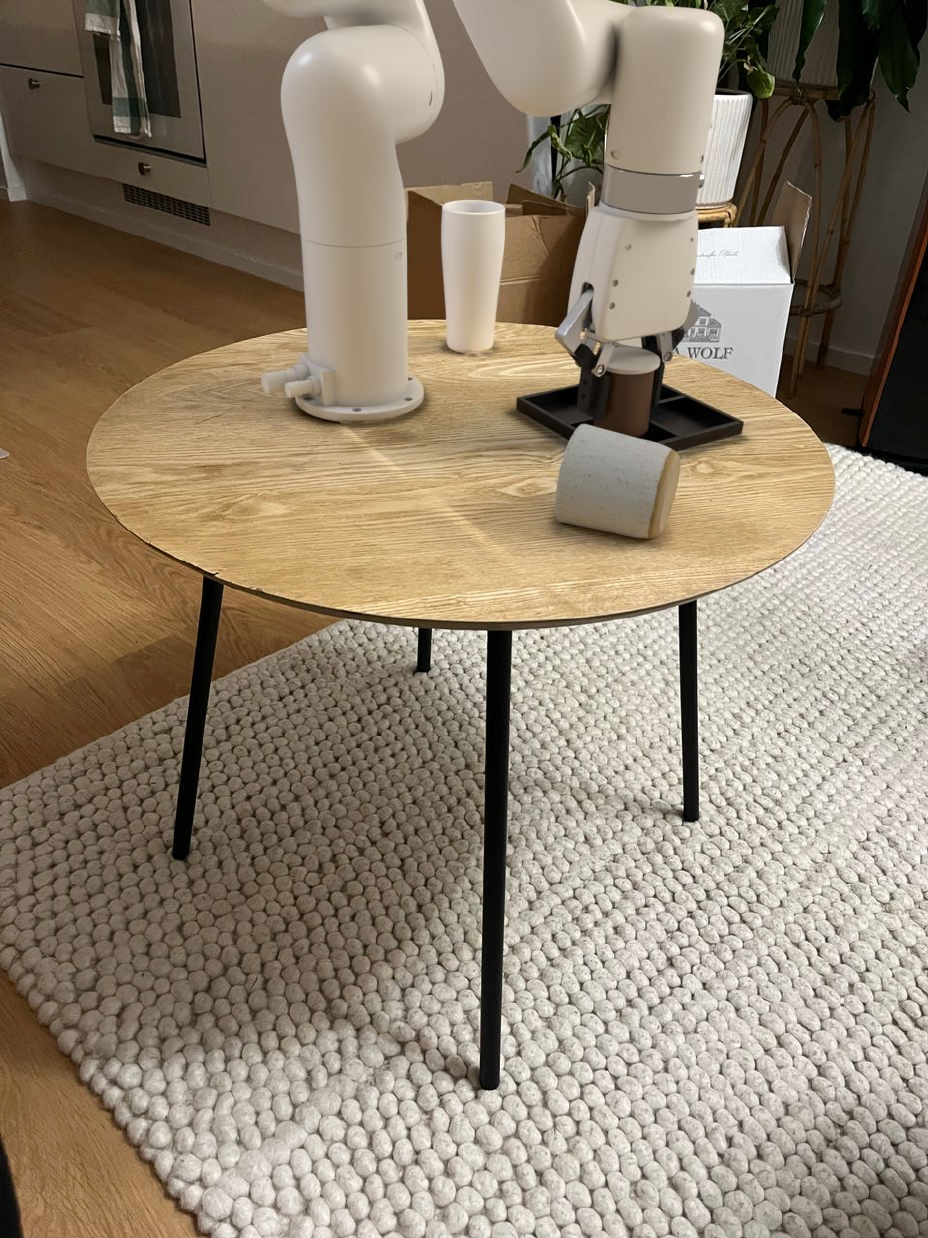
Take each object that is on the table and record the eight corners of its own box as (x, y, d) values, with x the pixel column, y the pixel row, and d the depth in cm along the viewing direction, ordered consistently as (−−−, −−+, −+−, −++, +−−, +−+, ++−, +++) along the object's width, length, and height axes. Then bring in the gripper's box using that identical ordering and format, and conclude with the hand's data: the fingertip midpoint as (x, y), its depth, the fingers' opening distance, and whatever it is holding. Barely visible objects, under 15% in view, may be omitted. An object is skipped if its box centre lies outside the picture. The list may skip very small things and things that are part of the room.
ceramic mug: (655, 559, 74) (670, 463, 69) (549, 538, 76) (557, 443, 72) (681, 501, 82) (696, 412, 78) (585, 483, 84) (595, 396, 80)
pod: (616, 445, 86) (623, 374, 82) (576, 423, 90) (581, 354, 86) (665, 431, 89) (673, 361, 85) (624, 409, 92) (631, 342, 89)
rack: (615, 473, 86) (617, 455, 85) (515, 413, 96) (516, 397, 95) (741, 438, 93) (744, 421, 92) (635, 386, 103) (637, 370, 102)
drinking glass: (502, 339, 115) (508, 200, 106) (497, 359, 109) (504, 214, 101) (443, 336, 115) (445, 198, 107) (436, 355, 110) (437, 211, 101)
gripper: (696, 174, 85) (661, 379, 95) (532, 188, 77) (514, 409, 87) (761, 193, 80) (717, 407, 90) (593, 209, 72) (565, 442, 82)
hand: (617, 406), depth 88 cm, fingers closed on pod, 5 cm apart
